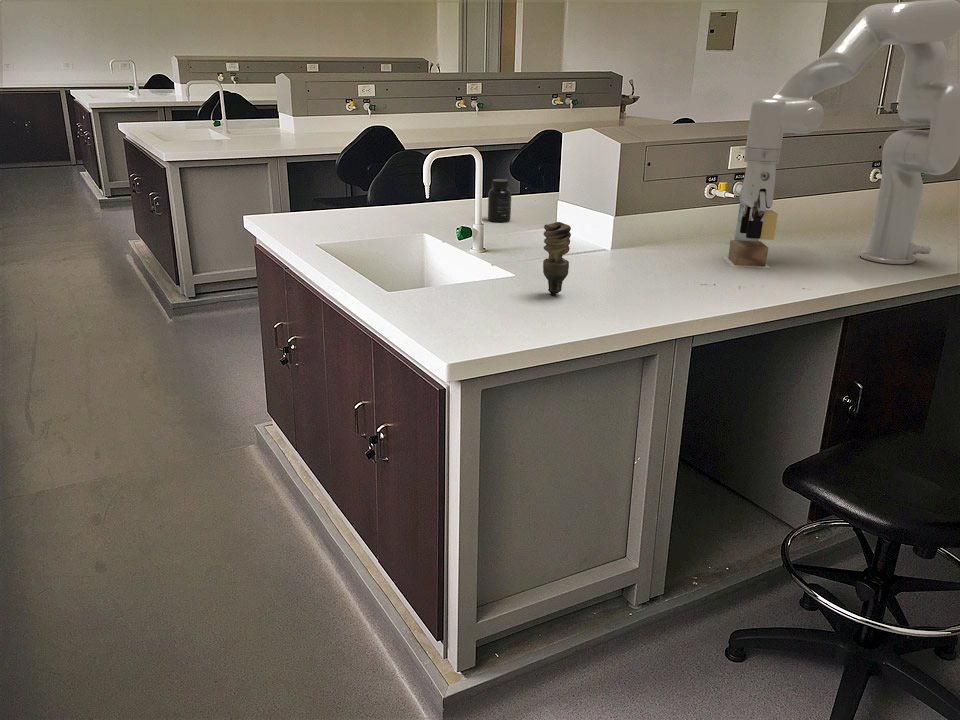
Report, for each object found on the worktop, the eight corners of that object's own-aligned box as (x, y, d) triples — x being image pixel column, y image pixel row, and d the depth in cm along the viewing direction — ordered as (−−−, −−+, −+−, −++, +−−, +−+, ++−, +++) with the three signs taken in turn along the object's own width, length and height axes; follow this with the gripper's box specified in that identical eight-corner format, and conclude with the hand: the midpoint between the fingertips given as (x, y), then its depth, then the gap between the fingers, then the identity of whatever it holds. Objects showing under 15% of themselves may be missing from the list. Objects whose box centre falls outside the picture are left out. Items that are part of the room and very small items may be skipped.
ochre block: (767, 235, 186) (771, 210, 184) (773, 239, 182) (777, 213, 180) (746, 234, 187) (750, 209, 185) (751, 238, 182) (755, 212, 180)
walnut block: (757, 259, 190) (760, 241, 188) (765, 266, 183) (768, 247, 182) (728, 258, 190) (730, 239, 189) (734, 265, 184) (737, 246, 182)
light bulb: (534, 294, 162) (538, 221, 157) (551, 289, 166) (556, 218, 160) (555, 300, 158) (559, 225, 153) (572, 295, 162) (577, 222, 156)
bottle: (730, 247, 209) (740, 170, 202) (735, 242, 214) (745, 167, 207) (756, 250, 206) (768, 172, 199) (760, 245, 212) (772, 169, 204)
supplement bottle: (483, 219, 237) (484, 178, 233) (504, 218, 240) (505, 178, 236) (493, 223, 231) (495, 182, 227) (514, 222, 234) (516, 181, 230)
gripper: (790, 160, 170) (776, 244, 176) (768, 152, 186) (756, 229, 192) (754, 159, 170) (742, 242, 177) (736, 151, 186) (725, 228, 193)
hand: (749, 234), depth 184 cm, fingers closed on ochre block, 5 cm apart
